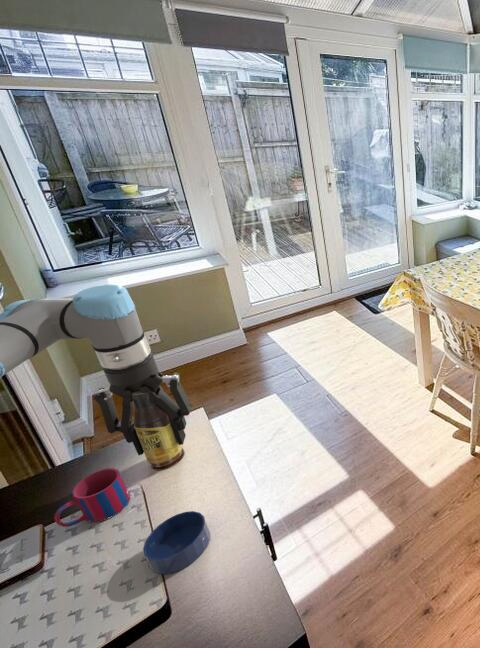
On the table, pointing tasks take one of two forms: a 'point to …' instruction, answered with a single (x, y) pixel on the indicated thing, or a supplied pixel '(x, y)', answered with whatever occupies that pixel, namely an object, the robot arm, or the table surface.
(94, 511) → the mug
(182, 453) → the coaster
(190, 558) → the bowl
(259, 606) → the table surface
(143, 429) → the sauce bottle
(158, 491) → the table surface
